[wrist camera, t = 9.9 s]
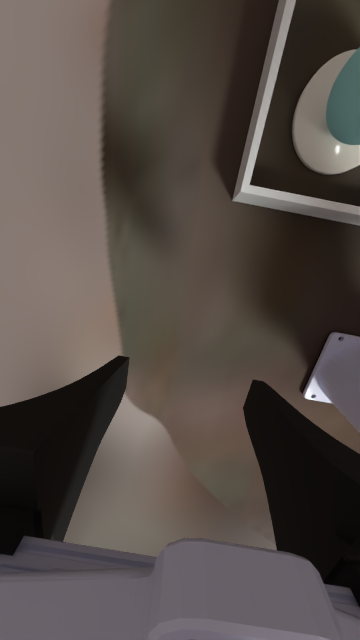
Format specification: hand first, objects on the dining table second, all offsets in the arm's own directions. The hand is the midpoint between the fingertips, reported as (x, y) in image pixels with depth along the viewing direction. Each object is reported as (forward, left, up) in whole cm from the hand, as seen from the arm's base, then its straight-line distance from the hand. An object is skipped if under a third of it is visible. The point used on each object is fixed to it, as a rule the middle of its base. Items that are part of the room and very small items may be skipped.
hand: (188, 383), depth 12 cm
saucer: (-8, -18, -10) cm, 22 cm away
